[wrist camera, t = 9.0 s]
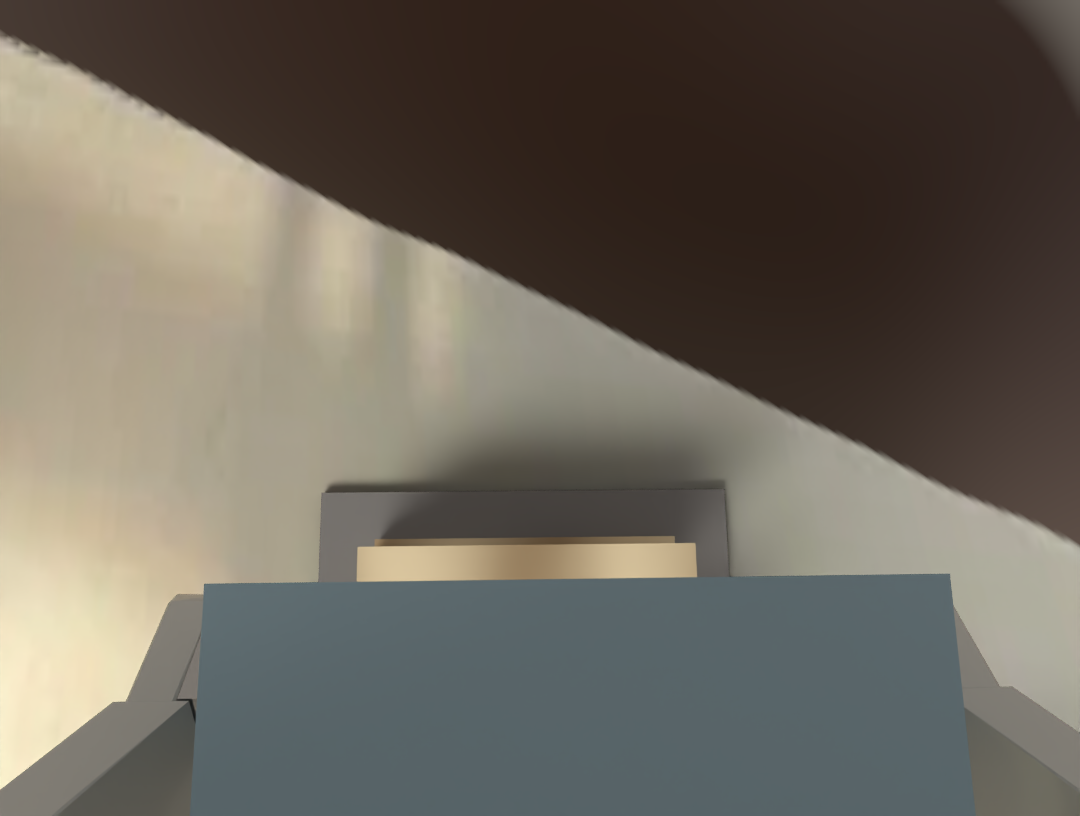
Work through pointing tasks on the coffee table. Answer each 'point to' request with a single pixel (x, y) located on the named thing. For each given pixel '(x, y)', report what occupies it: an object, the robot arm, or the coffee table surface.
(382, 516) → the mat
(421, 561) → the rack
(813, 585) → the pale blue rectangular prism
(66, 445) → the coffee table surface
